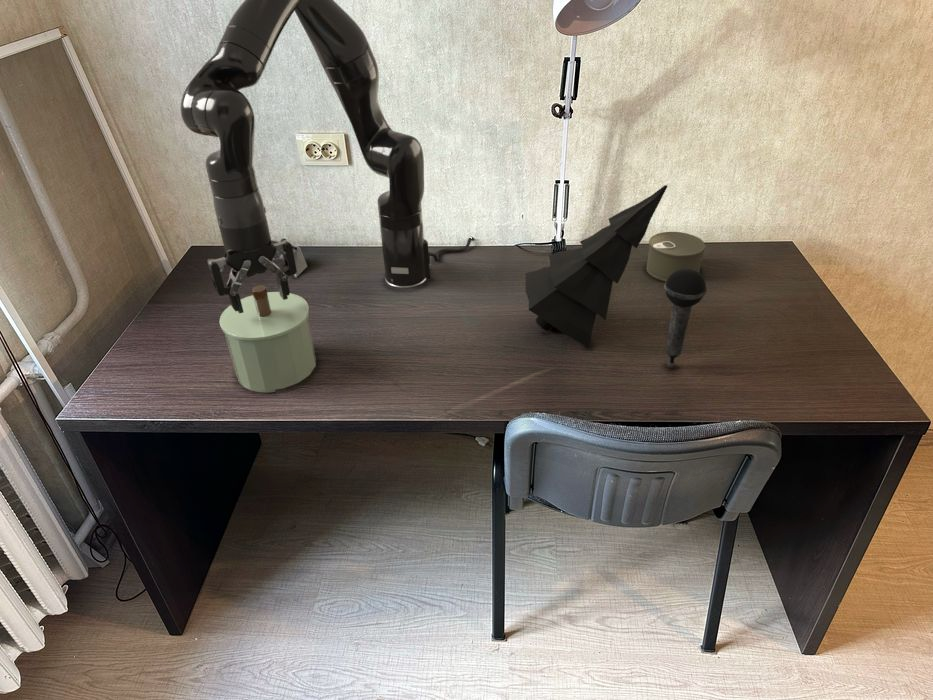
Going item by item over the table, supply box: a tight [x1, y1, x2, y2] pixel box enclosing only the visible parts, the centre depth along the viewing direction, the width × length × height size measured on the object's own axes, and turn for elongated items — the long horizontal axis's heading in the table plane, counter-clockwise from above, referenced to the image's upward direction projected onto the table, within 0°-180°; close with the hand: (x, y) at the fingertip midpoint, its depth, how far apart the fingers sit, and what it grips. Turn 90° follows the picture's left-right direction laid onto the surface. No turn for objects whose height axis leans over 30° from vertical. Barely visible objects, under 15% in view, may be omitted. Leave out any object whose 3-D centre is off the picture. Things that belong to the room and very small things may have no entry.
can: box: [646, 231, 706, 282], centre depth 150 cm, size 12×12×7 cm
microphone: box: [663, 268, 708, 369], centre depth 116 cm, size 7×7×20 cm
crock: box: [223, 316, 317, 394], centre depth 122 cm, size 14×14×12 cm
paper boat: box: [271, 239, 308, 278], centre depth 157 cm, size 12×6×9 cm
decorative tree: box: [525, 184, 668, 349], centre depth 125 cm, size 15×15×35 cm
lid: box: [219, 285, 310, 340], centre depth 117 cm, size 15×15×6 cm
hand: (262, 304), depth 117 cm, fingers open, 7 cm apart
